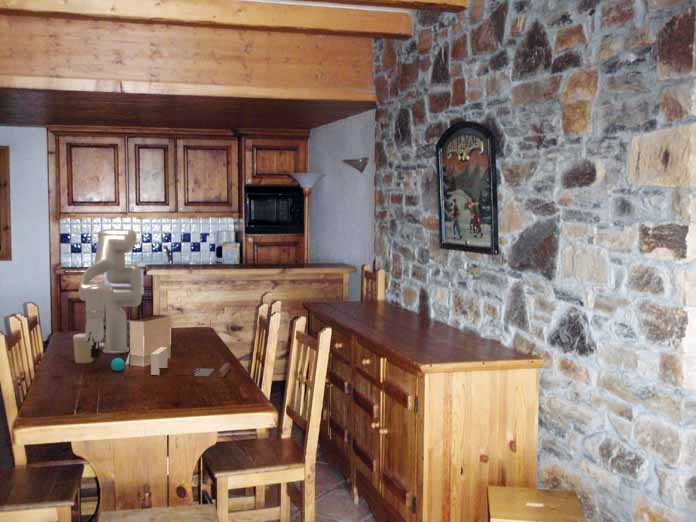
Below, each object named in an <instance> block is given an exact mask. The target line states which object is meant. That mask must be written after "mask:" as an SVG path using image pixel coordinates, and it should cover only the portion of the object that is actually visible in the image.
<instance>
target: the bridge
mask: <svg viewBox="0 0 696 522" xmlns="http://www.w3.org/2000/svg"><path fill="white" fill-rule="evenodd" d="M159 368H167V369H168V347H167V346H166V347H163V346H160V347H159V348H157V349H155V351H153V352H152V353H151V354H150V376H151V375H158V376H160V369H159Z"/></svg>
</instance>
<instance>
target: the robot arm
mask: <svg viewBox="0 0 696 522" xmlns="http://www.w3.org/2000/svg"><path fill="white" fill-rule="evenodd" d="M97 239H98V240H97V246H96V251H95V256H94V262H93V264H91V265H90V266H89V267H87V269H86V270H84V272H83V273H82V275H81V278H80V282H79V288H78V297H79V299H80V300H81V301H83V302H85V319H86V321H85V332H84V334H85V341H86V342H89V341H90V342H89V345H90V346H91V358H93V359H94V358H95V359H98V358H100V357H101V355H100V351H101V349H100V348H103V349H102V353H104V354H112V355H113V354H114V355H115V354H126V353H128V352H130V351H129V348H130V347H128V346H127V345H128V344H127V337H128V336H127V333H128V332H127V330H128V328H127V313H126V312H125V310H124V309H123V307H138V306H140V305H141V303H142V298H143V297H142V291H143V290H142V271H141V268H140V266H139V265H138V264H134V263H133V264H132V263H130V264H129V263H127V264H126V254H128V253H130V252H131V251H132V249H134V247H135V246H136V243H137V234H136V232H135V231H134V230H132V229H125V228H123V229H122V228H121V229H116V228H110V229H109V228H108V229H107V228H106V229H101V230H100V231H98V234H97ZM105 273H106V279H107V282H108V283H109V284H105V283H102V284H100V283H90V282H91V281H92V279H94V278H96V277H98V276H100V275H103V274H105ZM110 284H114V285H130V286H112V285H110ZM104 319H105V326H104ZM104 327H105V329H104ZM104 330H105V331H104ZM104 335H106V336H104ZM104 337H105V342H102V340H104Z"/></svg>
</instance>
